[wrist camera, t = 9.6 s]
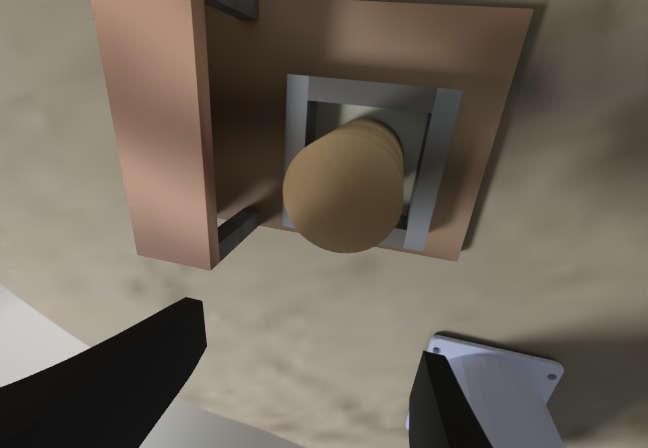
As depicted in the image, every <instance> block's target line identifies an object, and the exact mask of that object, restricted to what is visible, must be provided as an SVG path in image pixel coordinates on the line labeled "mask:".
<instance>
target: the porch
mask: <svg viewBox="0 0 648 448" xmlns="http://www.w3.org/2000/svg"><path fill="white" fill-rule="evenodd" d="M91 4H92V10H93V15H94V21H95V26H96V32H97V37H98V42H99V48H100V53H101V59H102V64H103V70H104V75H105V81H106V86H107V91H108V97H109V102H110V108H111V113H112V119H113V124H114V130H115V135H116V140H117V146H118V151H119V157H120V162H121V168H122V173H123V178H124V184H125V189H126V195H127V200H128V206H129V211H130V217H131V222H132V227H133V233H134V238H135V244H136V249H137V255H141V256H145V257H150V258H155V259H159V260H164V261H168V262H173V263H178V264H182V265H187V266H192V267H196V268H201V269H206V270H210V271H211V270H212V269H213V268H214V267H215V266H216V265H217V264H218V263H219V262H220V261H222V260H223V259H224V258H225V257H226V256H227V255H228V254H229V253H230V252H231V251H232V250H233V249H234V248H235V247H236V246H237V245H239V244H240V243H241V242H242V241H243V240H244V239H245V238H246V237H247V236H248V235H249V234H250V233H251V232H252V231H253V230H254V229H255V228H257V227H258V226H264V227H270V228H275V229H281V230H286V231H292V232H297V233H299V232H298V230H297V229H296V228H295V227H294V225H293V224H292V222H291V220H290V219H289V217H288V214H287V212H286V209H285V205H284V200H283V184H284V179H285V175H286V172H287V170H288V167H289V166H290V164H291V162H292V160H293V159H294V158H295V157H296V155H297V154H298V153H299V152H300V151H301V150H302V149H304V148H305V147H307V146H308V145H310V144H311V143H313V142H315V141H316V140H318V139H320V138H321V137H323V136H325V135H326V134H328V133H330V132H332V131H333V130H335V129H337V128H338V127H340V126H342V125H343V124H345V123H347V122H349V121H351V120H354V119H357V118H364V117H367V118H375V119H378V120H381V121H383V122H385V123H386V124H388V125H389V126H390V127H391V128H392V129H394V131H395V132H396V133H397V135H398V136H399V138H400V140H401V143H402V146H403V152H404V203H403V209H402V213H401V216H400V219H399V221H398V223H397V225H396V227H395V228H394V230H393V231H392V232H391V233H390V235H389V236H388V237H387V238H386V239H384V240H383V241H382V242H381V243H379V244H378V245H376V246H374V247H379V248H385V249H390V250H396V251H401V252H407V253H412V254H418V255H423V256H429V257H434V258H440V259H445V260H451V261H456V262H457V261H458V258H459V254H460V251H461V248H462V245H463V241H464V238H465V235H466V231H467V228H468V225H469V222H470V218H471V215H472V212H473V208H474V205H475V202H476V199H477V195H478V192H479V189H480V185H481V182H482V179H483V176H484V172H485V169H486V166H487V162H488V159H489V156H490V153H491V149H492V146H493V143H494V139H495V136H496V133H497V130H498V126H499V123H500V120H501V116H502V113H503V110H504V107H505V103H506V100H507V97H508V93H509V90H510V87H511V84H512V80H513V77H514V74H515V70H516V67H517V64H518V61H519V57H520V54H521V51H522V47H523V44H524V41H525V38H526V34H527V31H528V28H529V24H530V21H531V18H532V14H533V11H534V9H526V8H505V7H484V6H463V5H442V4H421V3H400V2H379V1H358V0H91ZM217 218H221V219H226V220H227V221H226V222H225V223H223V224H222V225H221V226H219V227H218V226H217Z"/></svg>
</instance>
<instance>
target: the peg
mask: <svg viewBox="0 0 648 448" xmlns="http://www.w3.org/2000/svg"><path fill="white" fill-rule="evenodd" d="M283 200H284V205H285V209H286V212H287V214H288V217H289V219H290V220H291V222H292V224H293V225H294V227H295V228H296V229H297V230H298V232H299V233H300V234H301V235H302V236H303V237H305V238H306V239H307V240H308V241H310V242H311V243H313V244H314V245H316V246H318V247H320V248H323V249H325V250H328V251H332V252H337V253H356V252H361V251H364V250H367V249H370V248H372V247H374V246H376V245H378V244H379V243H381V242H382V241H383V240H384V239H386V238H387V237H388V236H389V235H390V233H391V232H392V231H393V230H394V228H395V227H396V225H397V223H398V221H399V219H400V216H401V213H402V209H403V203H404V152H403V146H402V143H401V140H400V138H399V136H398V135H397V133H396V132H395V131H394V129H392V128H391V127H390V126H389V125H388V124H386V123H385V122H383V121H381V120H378V119H375V118H367V117H364V118H357V119H354V120H351V121H349V122H347V123H345V124H343V125H342V126H340V127H338V128H337V129H335V130H333V131H332V132H330V133H328V134H326V135H325V136H323V137H321V138H320V139H318V140H316V141H315V142H313V143H311V144H310V145H308V146H307V147H305V148H304V149H302V150H301V151H300V152H299V153H298V154H297V155H296V157H295V158H294V159H293V160H292V162H291V164H290V166H289V167H288V170H287V172H286V175H285V179H284V184H283Z"/></svg>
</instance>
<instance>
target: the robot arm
mask: <svg viewBox="0 0 648 448" xmlns="http://www.w3.org/2000/svg"><path fill="white" fill-rule="evenodd" d="M206 347H207V342H206V332H205V322H204V312H203V302H202V301H201V300H196V299H192V298H187V297H185V298H183V299H181V300H179V301H178V302H176V303H174V304H172V305H170V306H168V307H166V308H165V309H163V310H161V311H159V312H157V313H156V314H154V315H152V316H150V317H148V318H147V319H145V320H143V321H141V322H139V323H137V324H136V325H134V326H132V327H130V328H128V329H126V330H125V331H123V332H121V333H119V334H117V335H115V336H113V337H111V338H109V339H107V340H105V341H103V342H101V343H99V344H97V345H95V346H93V347H91V348H90V349H87V350H86V351H84V352H82V353H80V354H78V355H75V356H74V357H71V358H69V359H67V360H65V361H63V362H60V363H58V364H56V365H54V366H52V367H49V368H47V369H45V370H42V371H40V372H38V373H35V374H33V375H31V376H29V377H26V378H24V379H21V380H19V381H16V382H13V383H11V384H8V385H6V386H3V387H0V448H139V447H140V445H141V444H142V442H143V441H144V439H145V438H146V437H147V435H148V434H149V433H150V431H151V430H152V428H153V427H154V426H155V424H156V423H157V422H158V420H159V419H160V418H161V416H162V415H163V413H164V412H165V411H166V409H167V408H168V407H169V405H170V404H171V402H172V401H173V399H174V398H175V397H176V395H177V394H178V393H179V391H180V390H181V389H182V387H183V386H184V384H185V383H186V381H187V380H188V379H189V377H190V376H191V374H192V372H193V371H194V369H195V367H196V366H197V364H198V362H199V360H200V358H201V356H202V355H203V353H204V351H205V349H206ZM435 347H438V348H439V349H434V348H435ZM563 373H564V369H563V367H562V365H561V364H560V363H559V362H556V361H552V360H548V359H544V358H539V357H535V356H530V355H526V354H521V353H517V352H512V351H508V350H503V349H499V348H494V347H490V346H485V345H481V344H476V343H472V342H468V341H463V340H459V339H454V338H450V337H445V336H441V335H435V336H433V337H431V339H430V342H429V345H428V349H427V351H423V354H422V357H421V360H420V364H419V367H418V371H417V374H416V377H415V381H414V384H413V387H412V391H411V394H410V401H409V412H408V416H407V419H406V428H407V429H408V430H409V445H410V448H565V446H564V444H563V442H562V439H561V437H560V435H559V433H558V431H557V428H556V426H555V424H554V422H553V420H552V417H551V415H550V413H549V411H548V408H547V406H546V403H547V402H548V400H549V398H550V396H551V394H552V393H553V391H554V389H555V387H556V386H557V384H558V382H559V380H560V378H561V377H562V375H563ZM549 374H552V375H549Z"/></svg>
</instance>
